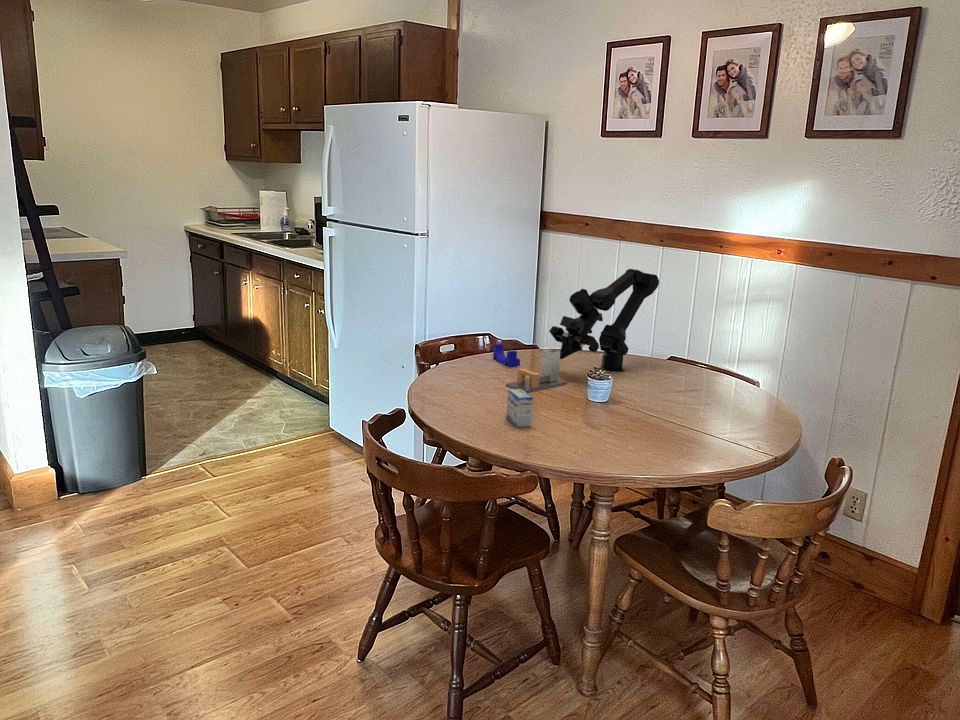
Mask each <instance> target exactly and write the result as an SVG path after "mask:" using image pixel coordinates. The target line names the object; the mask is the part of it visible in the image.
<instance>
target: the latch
mask: <svg viewBox="0 0 960 720" xmlns="http://www.w3.org/2000/svg"><path fill="white" fill-rule="evenodd" d="M560 361H561V359H560V350H558V349H555V348H547V349H543V350H542V363H541V374H540V373H539V374H540V377H539V383H543V382H547V381H549V382H552V381H557V380H558V379H559V376H560V375H559V374H560V364H561V363H560ZM529 379H530V383H531V377H530V376H529Z"/></svg>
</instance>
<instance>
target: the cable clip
mask: <svg viewBox="0 0 960 720" xmlns="http://www.w3.org/2000/svg"><path fill="white" fill-rule="evenodd" d="M492 351H493V353H492V354H493V356H492V360H493V359H494V360H493V361H495V360H496V361H495V362H497V363H498V362H499V363H498V364H500V363H501V365H502V364H503V365H502V366H504V365H505V366H504V367H506V366H508V367H515V368H518V367H517V366H520V365H521V359H520V358H518V357H517V355H518V351H517V350H507V351H506V352H507V353H506V355H505V353H504V344H503V343H493V350H492ZM508 367H507V368H508Z"/></svg>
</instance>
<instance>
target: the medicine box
mask: <svg viewBox="0 0 960 720" xmlns="http://www.w3.org/2000/svg"><path fill="white" fill-rule="evenodd" d="M506 402H507V403H506V416H505V417H506V419H507V420H508V421H509V422H510V423H511V422H512V423H511V424H512V425H514V426H515V427H516V428H529V427H531V426H532V422H533V405H534V397H533V396H531V395H530V393H526V392H525V391H523V390H522V389H512V388H511V389H508V390H507V401H506Z"/></svg>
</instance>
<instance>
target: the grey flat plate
mask: <svg viewBox="0 0 960 720" xmlns="http://www.w3.org/2000/svg"><path fill="white" fill-rule="evenodd" d="M565 384H566V385H568V381H566V380H562V379H560V378H558V380H557V381H552V382H549V381H547V382H543V383H539V387H538V388H532V387H531V383H530V378H529V379H525V383H518V382H517V381H513V382H509V383H505V387H507V388H509V387H510V388H509V389H512V388H513V389H522V390H523V391H525V392H526V393H527V394H530V393H533V392H538V390H539V391H543V390H547V388H548V389H552V388H556V387H562V386H564V385H565ZM529 392H530V393H529Z"/></svg>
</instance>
